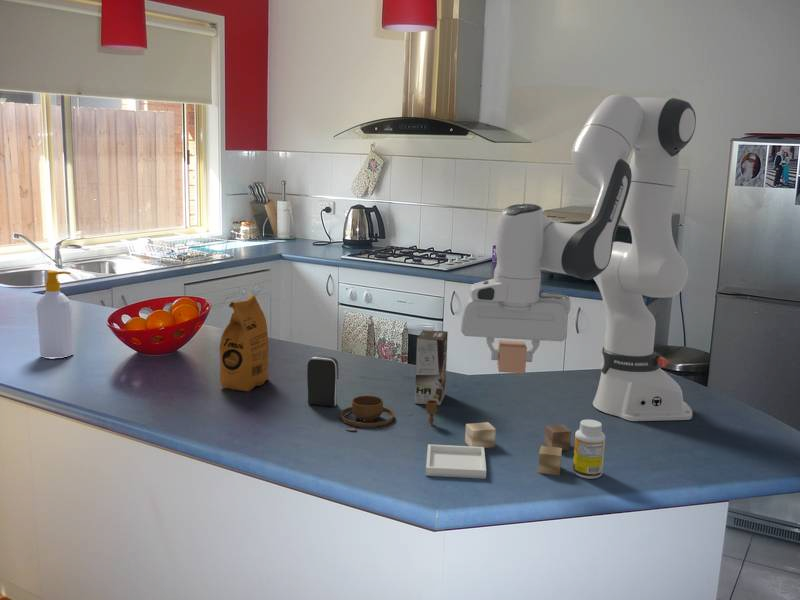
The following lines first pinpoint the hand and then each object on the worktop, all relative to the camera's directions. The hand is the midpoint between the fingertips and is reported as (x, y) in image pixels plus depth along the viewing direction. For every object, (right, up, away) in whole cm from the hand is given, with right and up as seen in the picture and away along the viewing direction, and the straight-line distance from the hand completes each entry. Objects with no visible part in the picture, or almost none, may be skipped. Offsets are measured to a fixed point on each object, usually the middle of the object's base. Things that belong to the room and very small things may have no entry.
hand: (511, 360), depth 150 cm
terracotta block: (0, -2, 0) cm, 2 cm away
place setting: (-26, -16, +21) cm, 37 cm away
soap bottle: (-116, -4, +65) cm, 133 cm away
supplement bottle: (+14, -22, -3) cm, 26 cm away
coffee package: (-61, -10, +45) cm, 76 cm away
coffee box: (-14, -12, +37) cm, 42 cm away
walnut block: (+11, -19, +10) cm, 24 cm away
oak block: (+7, -21, -1) cm, 22 cm away
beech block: (-5, -18, +10) cm, 22 cm away
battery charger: (-40, -13, +32) cm, 53 cm away
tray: (-11, -20, 0) cm, 23 cm away
